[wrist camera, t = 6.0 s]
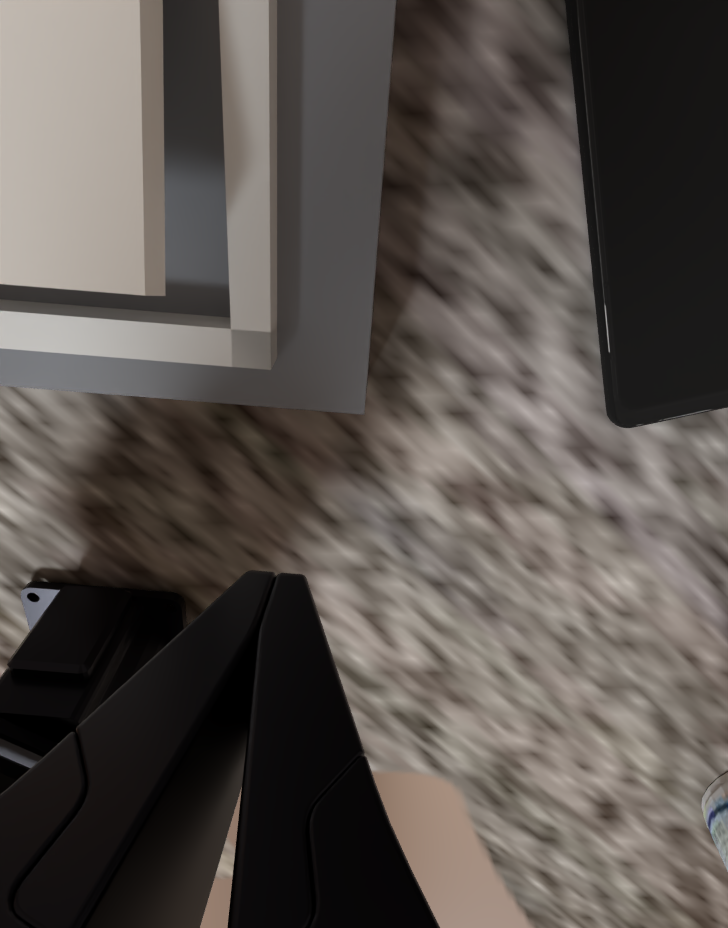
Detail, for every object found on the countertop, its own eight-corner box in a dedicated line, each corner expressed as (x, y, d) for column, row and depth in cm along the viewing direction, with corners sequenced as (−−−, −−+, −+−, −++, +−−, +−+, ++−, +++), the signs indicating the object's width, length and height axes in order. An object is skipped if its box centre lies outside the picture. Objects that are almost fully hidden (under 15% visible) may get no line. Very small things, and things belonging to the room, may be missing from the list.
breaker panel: (367, 377, 20) (362, 433, 16) (-86, 341, 20) (-194, 388, 16) (431, -449, 12) (449, -716, 8) (-339, -509, 12) (-673, -802, 8)
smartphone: (611, 435, 20) (554, -155, 13) (604, 424, 21) (546, -140, 14) (839, 386, 19) (902, -289, 12) (822, 377, 20) (874, -266, 13)
